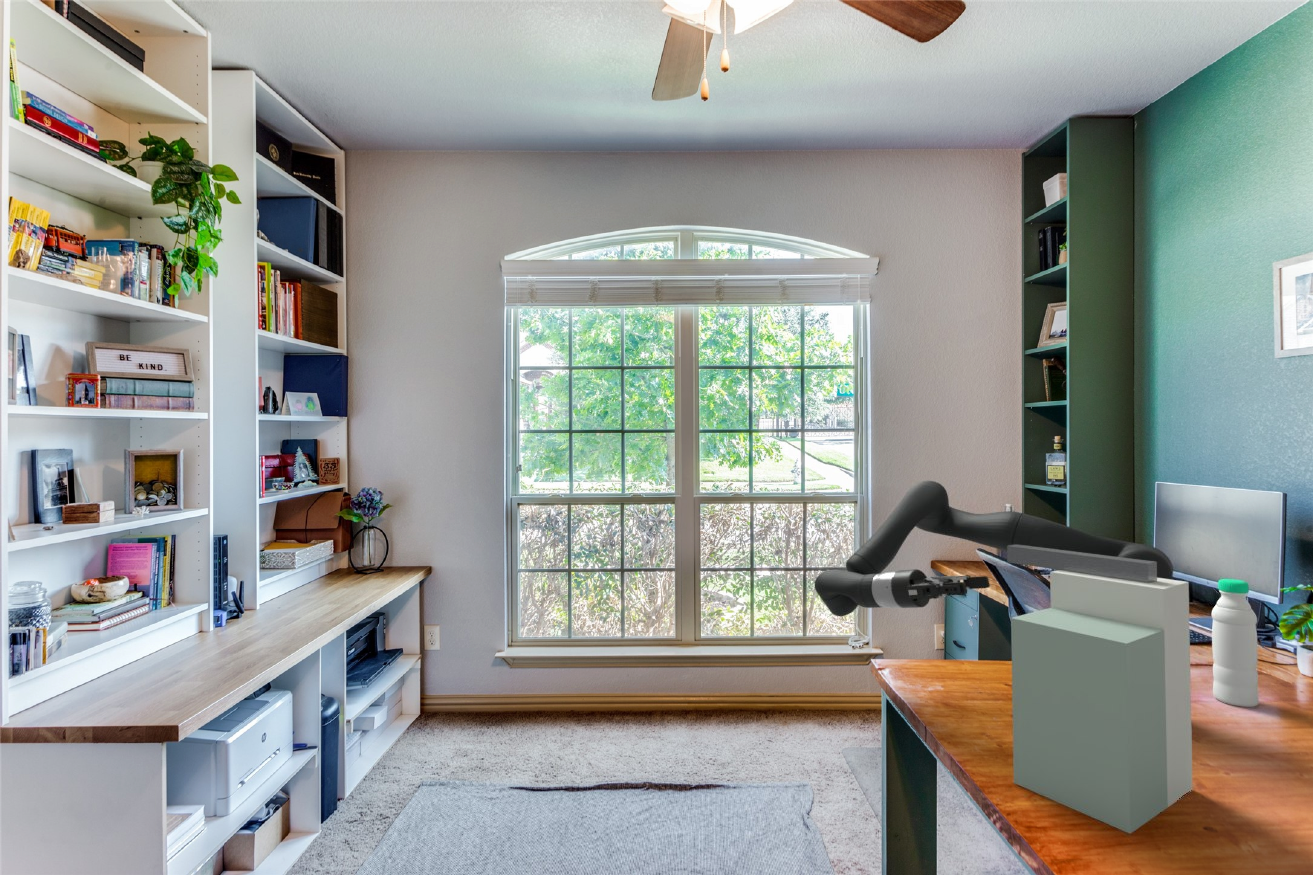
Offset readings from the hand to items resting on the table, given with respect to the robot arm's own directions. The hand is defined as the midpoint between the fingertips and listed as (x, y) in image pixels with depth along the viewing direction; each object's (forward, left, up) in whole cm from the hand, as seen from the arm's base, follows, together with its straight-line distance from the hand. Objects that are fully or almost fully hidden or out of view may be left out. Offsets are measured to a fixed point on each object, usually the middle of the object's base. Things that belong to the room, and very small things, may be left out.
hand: (977, 584), depth 121 cm
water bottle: (-61, -1, -28) cm, 67 cm away
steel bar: (-9, +13, +5) cm, 17 cm away
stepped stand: (-5, +21, -27) cm, 35 cm away
